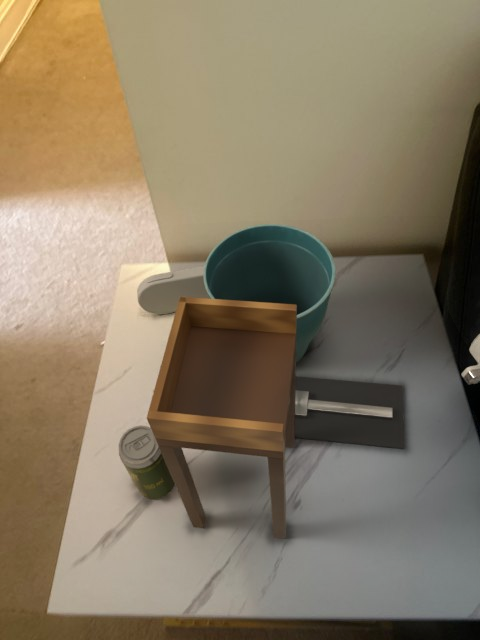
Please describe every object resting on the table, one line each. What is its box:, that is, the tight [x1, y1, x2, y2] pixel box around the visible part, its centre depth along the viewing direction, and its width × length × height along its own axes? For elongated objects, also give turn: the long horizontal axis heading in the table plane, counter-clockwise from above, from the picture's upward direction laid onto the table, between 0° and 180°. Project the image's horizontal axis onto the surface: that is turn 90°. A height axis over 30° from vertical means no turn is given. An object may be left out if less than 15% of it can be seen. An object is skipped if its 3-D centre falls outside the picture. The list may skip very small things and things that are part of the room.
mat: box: [295, 375, 405, 450], centre depth 82 cm, size 22×10×1 cm, turn 82°
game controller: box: [136, 265, 210, 315], centre depth 93 cm, size 20×2×8 cm, turn 100°
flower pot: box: [203, 223, 337, 363], centre depth 83 cm, size 18×18×17 cm
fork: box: [295, 390, 393, 420], centre depth 81 cm, size 18×4×1 cm, turn 81°
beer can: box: [118, 424, 175, 500], centre depth 72 cm, size 5×5×12 cm
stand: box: [146, 297, 297, 540], centre depth 64 cm, size 12×14×30 cm
